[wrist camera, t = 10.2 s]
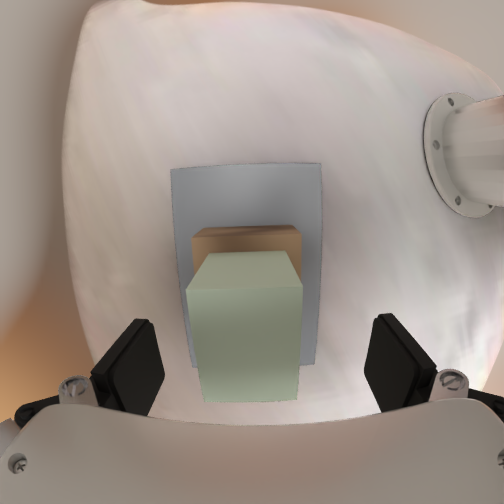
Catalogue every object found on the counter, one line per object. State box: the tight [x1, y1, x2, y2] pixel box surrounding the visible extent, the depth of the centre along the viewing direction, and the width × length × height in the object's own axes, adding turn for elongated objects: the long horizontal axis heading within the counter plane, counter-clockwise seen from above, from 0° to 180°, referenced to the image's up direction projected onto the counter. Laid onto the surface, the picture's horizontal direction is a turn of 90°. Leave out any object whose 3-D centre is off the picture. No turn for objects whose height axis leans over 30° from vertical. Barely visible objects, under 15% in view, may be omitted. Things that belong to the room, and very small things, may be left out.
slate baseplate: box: [171, 163, 322, 368], centre depth 21 cm, size 11×17×1 cm, turn 2°
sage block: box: [186, 250, 303, 402], centre depth 14 cm, size 4×6×6 cm
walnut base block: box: [191, 225, 302, 281], centre depth 19 cm, size 6×8×4 cm
